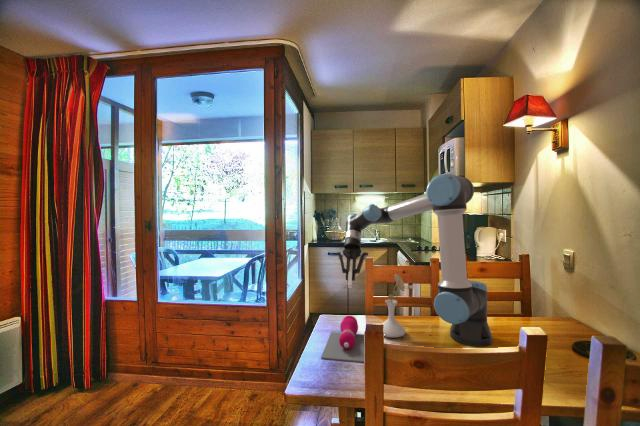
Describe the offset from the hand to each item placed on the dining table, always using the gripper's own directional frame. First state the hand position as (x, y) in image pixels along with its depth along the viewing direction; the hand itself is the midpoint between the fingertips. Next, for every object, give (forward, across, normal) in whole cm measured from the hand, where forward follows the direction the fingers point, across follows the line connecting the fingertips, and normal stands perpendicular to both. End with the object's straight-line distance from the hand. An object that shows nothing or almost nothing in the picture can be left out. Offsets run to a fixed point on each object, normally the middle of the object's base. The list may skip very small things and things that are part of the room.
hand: (349, 286), depth 124 cm
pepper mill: (+9, 0, -13) cm, 16 cm away
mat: (+22, 0, -7) cm, 23 cm away
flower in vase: (+11, -17, -18) cm, 27 cm away
